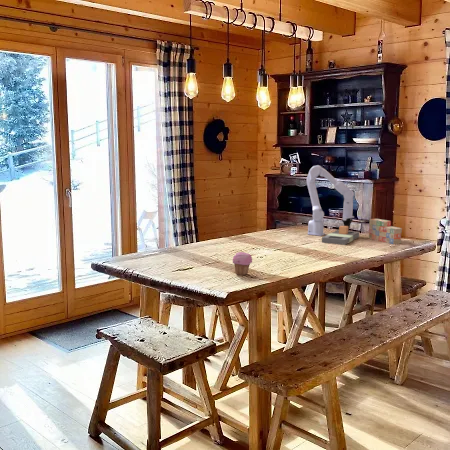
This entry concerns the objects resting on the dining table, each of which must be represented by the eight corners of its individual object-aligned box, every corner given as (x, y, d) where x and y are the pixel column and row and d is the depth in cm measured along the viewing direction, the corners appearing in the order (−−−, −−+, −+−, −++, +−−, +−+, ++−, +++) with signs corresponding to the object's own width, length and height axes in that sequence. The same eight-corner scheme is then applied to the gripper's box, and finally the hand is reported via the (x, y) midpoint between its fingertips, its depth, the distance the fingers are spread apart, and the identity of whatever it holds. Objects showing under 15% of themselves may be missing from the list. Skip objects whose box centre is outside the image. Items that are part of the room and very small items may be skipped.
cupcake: (235, 271, 245) (235, 249, 244) (253, 272, 243) (254, 251, 241) (229, 275, 237) (230, 253, 235) (249, 277, 235) (249, 254, 233)
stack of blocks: (401, 243, 320) (402, 223, 318) (393, 244, 317) (394, 223, 315) (375, 237, 339) (377, 218, 337) (368, 238, 336) (369, 218, 334)
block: (338, 233, 332) (339, 226, 331) (340, 232, 336) (341, 225, 335) (346, 234, 330) (346, 227, 329) (348, 233, 334) (348, 226, 333)
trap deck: (321, 242, 319) (322, 237, 318) (337, 234, 346) (337, 230, 345) (345, 244, 312) (345, 239, 312) (359, 236, 339) (359, 232, 339)
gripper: (351, 210, 328) (349, 232, 331) (357, 208, 341) (356, 229, 343) (339, 209, 332) (338, 231, 334) (346, 207, 344) (345, 228, 347)
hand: (346, 230), depth 339 cm, fingers closed
